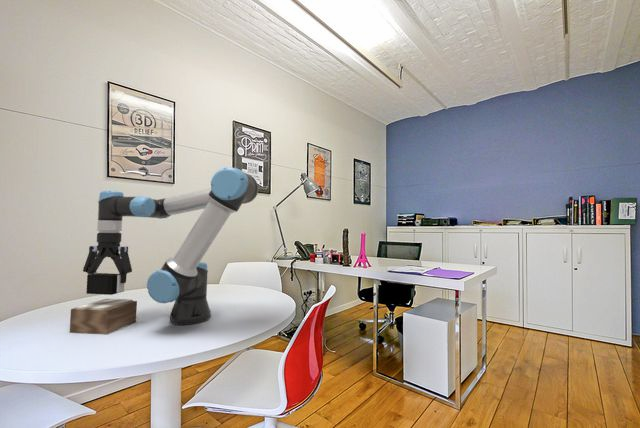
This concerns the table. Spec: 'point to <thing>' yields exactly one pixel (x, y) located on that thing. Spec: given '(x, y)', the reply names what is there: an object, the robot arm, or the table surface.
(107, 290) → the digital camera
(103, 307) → the walnut stand
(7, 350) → the table surface
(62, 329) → the table surface
